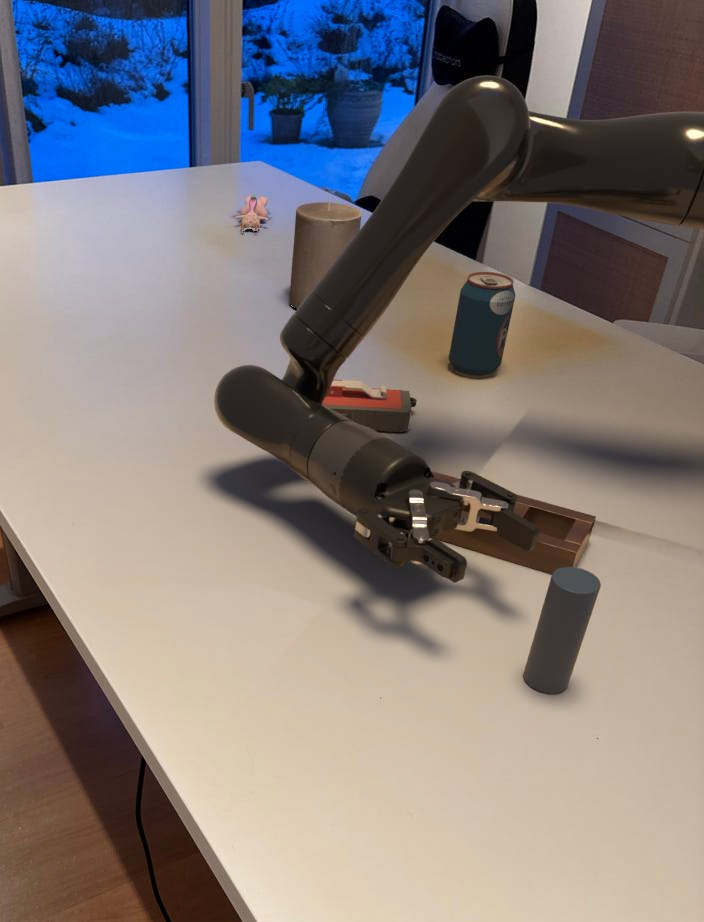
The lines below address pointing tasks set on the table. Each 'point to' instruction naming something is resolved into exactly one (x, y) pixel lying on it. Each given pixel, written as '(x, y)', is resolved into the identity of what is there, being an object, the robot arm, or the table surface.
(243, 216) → the rabbit figure
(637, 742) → the table surface
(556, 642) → the peg
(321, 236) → the pillar candle
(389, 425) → the walkie-talkie
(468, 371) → the soda can
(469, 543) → the peg block
